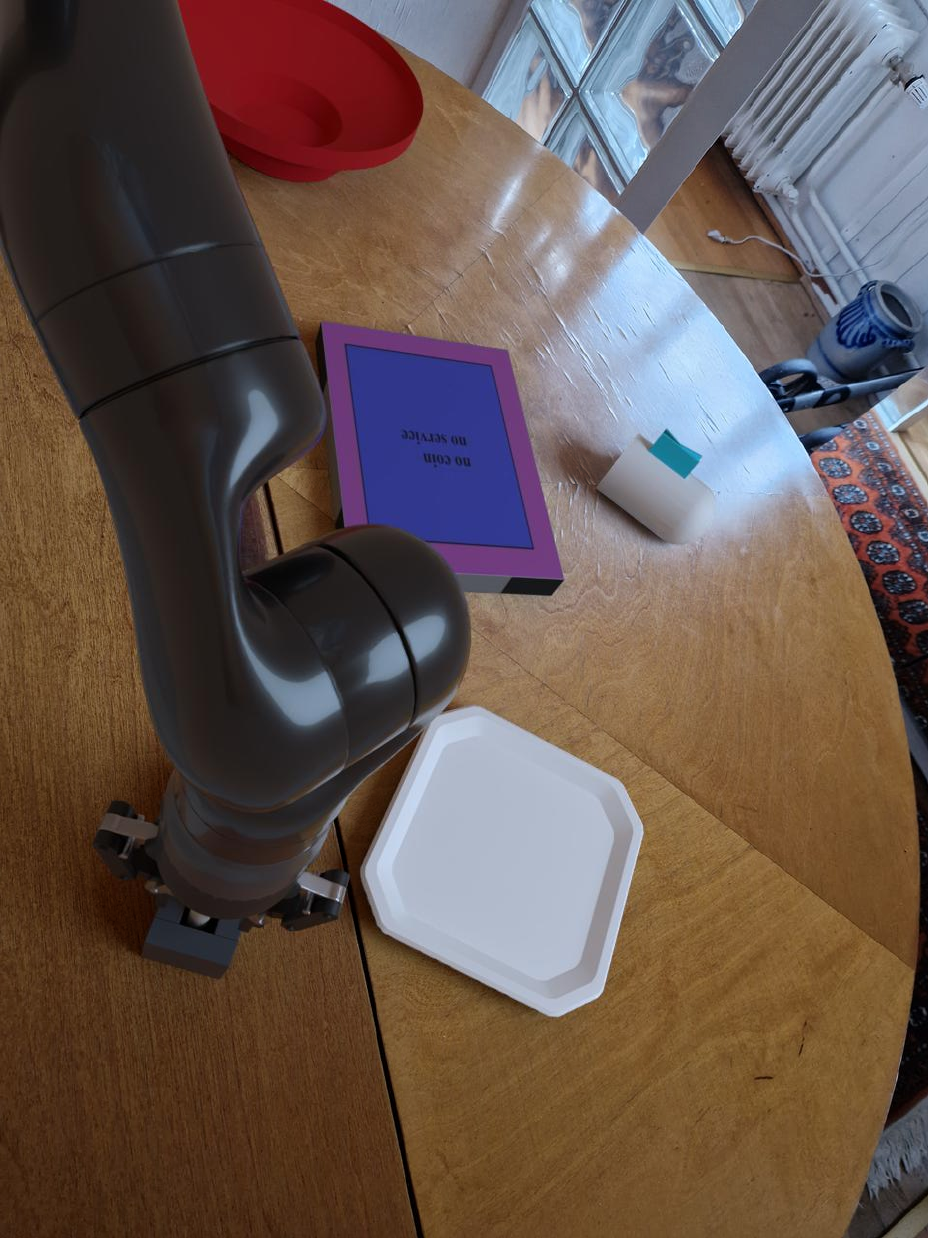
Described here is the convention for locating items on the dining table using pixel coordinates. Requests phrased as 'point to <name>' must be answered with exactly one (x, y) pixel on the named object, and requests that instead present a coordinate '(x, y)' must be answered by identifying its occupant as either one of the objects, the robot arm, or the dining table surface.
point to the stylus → (196, 921)
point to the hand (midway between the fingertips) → (206, 902)
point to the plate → (505, 860)
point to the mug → (661, 488)
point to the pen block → (190, 942)
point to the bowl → (302, 86)
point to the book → (437, 453)
